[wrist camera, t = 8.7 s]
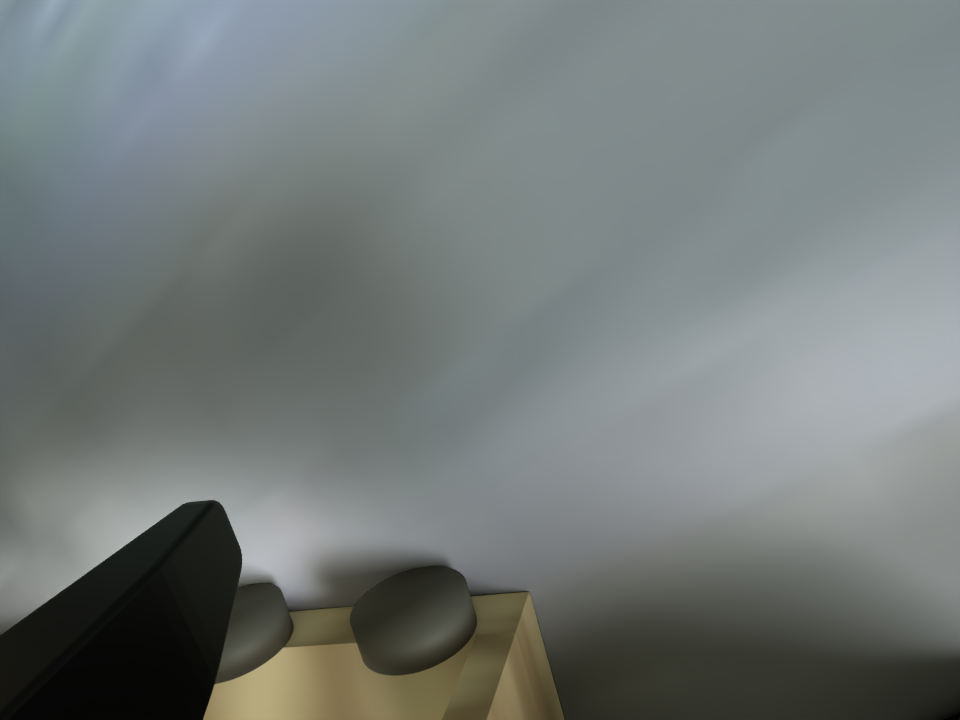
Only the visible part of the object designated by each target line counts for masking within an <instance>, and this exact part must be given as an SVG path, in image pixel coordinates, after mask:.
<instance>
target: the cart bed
mask: <svg viewBox="0 0 960 720" xmlns="http://www.w3.org/2000/svg"><path fill="white" fill-rule="evenodd" d="M203 720H565V719H564V716H563V712H562V709H561V705H560V701H559V698H558V694H557V691H556V687H555V683H554V680H553V676H552V672H551V669H550V665H549V662H548V658H547V654H546V651H545V647H544V644H543V640H542V636H541V633H540V629H539V625H538V622H537V618H536V615H535V611H534V607H533V604H532V600H531V597H530V593H529V592H520V593H508V594H496V595H484V596H472V597H471V596H470V592H469V589H468V586H467V582H466V579H465V578H464V576H463V575H462V574H461V573H460V572H458V571H456V570H454V569H451V568H447V567H436V566H433V567H423V568H417V569H413V570H409V571H406V572H403V573H400V574H397V575H395V576H392V577H390V578H388V579H386V580H384V581H382V582H381V583H379V584H377V585H376V586H374V587H373V588H372V589H370V590H369V591H368V592H366V593H365V594H364V595H363V596H362V597H361V598H360V599H359V600H358V601H357V603H356V604H355V606H352V607H340V608H329V609H317V610H305V611H293V612H289V610H288V608H287V605H286V602H285V599H284V597H283V594H282V591H281V589H280V588H279V587H277V586H275V585H272V584H264V583H262V584H252V585H247V586H243V587H239V588H237V591H236V595H235V600H234V604H233V609H232V613H231V618H230V622H229V627H228V631H227V635H226V640H225V644H224V649H223V653H222V658H221V662H220V666H219V670H218V674H217V678H216V682H215V685H214V688H213V691H212V694H211V697H210V701H209V704H208V707H207V710H206V713H205V715H204V718H203Z"/></svg>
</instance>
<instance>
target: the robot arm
mask: <svg viewBox="0 0 960 720" xmlns="http://www.w3.org/2000/svg"><path fill="white" fill-rule="evenodd" d="M241 568H242V553H241V549H240V546H239V543H238V541H237V539H236V536H235V534H234V531H233V529H232V526H231V524H230V522H229V519H228V517H227V514H226V512H225V510H224V508H223V506H222V505H221V504H220V503H219V502H217V501H215V500H208V501H197V502H188V503H185V504H183V505H181V506H180V507H178V508H177V509H176V510H174V511H173V512H171V513H170V514H169V515H167V516H166V517H164V518H163V519H162V520H160V521H159V522H157V523H156V524H155V525H153V526H152V527H150V528H149V529H148V530H146V531H145V532H144V533H142V534H141V535H139V536H138V537H137V538H135V539H134V540H132V541H131V542H130V543H128V544H127V545H125V546H124V547H123V548H121V549H120V550H118V551H117V552H116V553H114V554H113V555H112V556H110V557H109V558H107V559H106V560H105V561H103V562H102V563H100V564H99V565H98V566H96V567H95V568H93V569H92V570H91V571H89V572H88V573H86V574H85V575H84V576H82V577H81V578H80V579H78V580H77V581H75V582H74V583H73V584H71V585H70V586H68V587H67V588H66V589H64V590H63V591H61V592H60V593H59V594H57V595H56V596H54V597H53V598H52V599H50V600H49V601H48V602H46V603H45V604H43V605H42V606H41V607H39V608H38V609H36V610H35V611H34V612H32V613H31V614H29V615H28V616H27V617H25V618H24V619H23V620H21V621H20V622H18V623H17V624H16V625H14V626H13V627H11V628H10V629H9V630H7V631H6V632H4V633H3V634H2V635H0V720H203V718H204V715H205V713H206V710H207V707H208V704H209V701H210V697H211V694H212V691H213V688H214V685H215V682H216V678H217V674H218V670H219V666H220V662H221V658H222V653H223V649H224V644H225V640H226V635H227V631H228V627H229V622H230V618H231V613H232V609H233V604H234V600H235V595H236V591H237V586H238V582H239V578H240V573H241ZM944 720H960V713H958V714H956V715H953V716H951V717H949V718H947V719H944Z"/></svg>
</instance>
